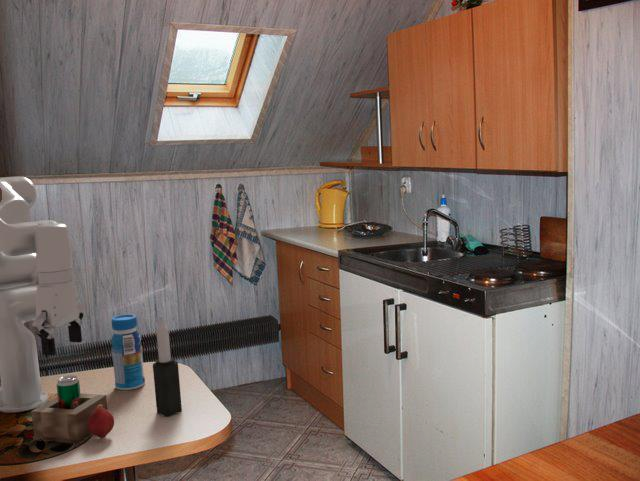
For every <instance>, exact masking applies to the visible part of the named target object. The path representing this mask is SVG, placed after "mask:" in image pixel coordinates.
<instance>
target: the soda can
mask: <svg viewBox="0 0 640 481" xmlns="http://www.w3.org/2000/svg"><path fill="white" fill-rule="evenodd" d="M56 392H57V396H58V403H59V409H75V408H76V407H78V406H80V405H81V404H82V403H81V394H80V393H81V386H80V380H79V378H78V376H77V375H71V374H70V375H65V376H61V377H59V378H58V379H57V383H56Z"/></svg>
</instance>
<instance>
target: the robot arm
mask: <svg viewBox="0 0 640 481" xmlns="http://www.w3.org/2000/svg"><path fill="white" fill-rule="evenodd" d="M0 188H1V190H2V200H1V202H0V384H1V385H0V412H2V413H7V414H8V413H9V414H10V413H11V414H13V413H21V412H25V411H30V410H31V411H32V410H34V409H36V408H38V407H40V406H41V405H43V404H45V403H47V402H48V401H50V400H49V399H50V398H49V394H48V393H47V392H43V391H42V383H41V382H42V381H41V374H40V365H39V356H38V349H37V348H38V347H37V341H36V339H37V338H36V336H35V335H34V333H35V334H36V335H37V337H38V339H40V343H41V351H42V352H41V353H42V355H43V356H55V355H56V352H57V351H56V343H55V342H56V341H55V337H53V335H54V333H55V331H56V329H58V328H61V327H63V326H65V325H67V324H69V325H67V328H68V330H67V332H68V340H69V341H68V342H70V343H81V342H83V335H82V325H83V321H82V320H83V318H84V310H85V304H84V303H81V302H79V297H78V296H79V295H78V292H77V287H76V283H75V280H74V272H73V261H72V260H73V259H72V252H71V251H72V250H71V240H70V231H69V227H68V225H66V224H65V223H60V222H56V221H55V220H53V219H52V220H50V219H46V220H45V219H43V220H38V221H37V220H36V221H26V220H27V219H28V217H29V215H30V209H32V208H33V206H34V205H35V204H36V201H37V196H38V195H37V189H36V186H35V184H34V183H33V182H32V180H30V179H29V178H28V177H26V176H21V175H20V176H19V175H18V176H6V177H0ZM32 321H33V322H32ZM27 322H32V323H31V327H32V328H33V330H34V333H33V332H32V331H31V330H30V329H29V328H27V326H25V323H27ZM47 330H48V331H47Z"/></svg>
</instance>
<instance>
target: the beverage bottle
mask: <svg viewBox="0 0 640 481" xmlns="http://www.w3.org/2000/svg"><path fill="white" fill-rule="evenodd" d="M137 327H138V320H137V316H136V315H135V314H121V315H115V316H114V317H112V318H111V329H112V331H113V335H112V336H111V340H110V345H111V346H112V347H111V349H110V350H111V351H110V353H111V356H112V362H113V363H112V364H113V365H112V366H113V374H114V387H115V389H118V390H119V391H131V390H136V389H140V388H141V387H143V386H144V385H145V383H146V379H145V371H144V362H143V361H144V360H143V359H144V358H143V346H142V344H141V341H142V337H141V335H140V333H139V331H138V330H137Z"/></svg>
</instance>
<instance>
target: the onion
mask: <svg viewBox="0 0 640 481" xmlns="http://www.w3.org/2000/svg"><path fill="white" fill-rule="evenodd" d="M114 426H115V418H114V415H113V414H112V413H111V411H109V409H108V410H106V409H104V408H103V405H99V406H98V407H97V409H96V410H94V411H93V412H92V414H91V415H90V417H89V419H88V429H89V431H90V432H91V434H92V436H95V437H97V438H100V439H105V438H106V437H107V436H108V435H109V434H110V432H112V431H113V428H114Z"/></svg>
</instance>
